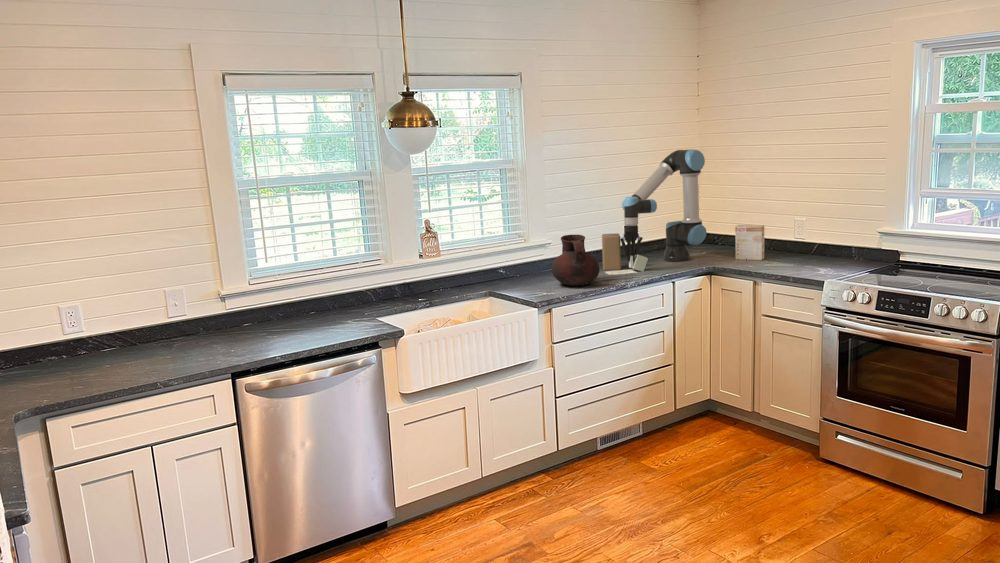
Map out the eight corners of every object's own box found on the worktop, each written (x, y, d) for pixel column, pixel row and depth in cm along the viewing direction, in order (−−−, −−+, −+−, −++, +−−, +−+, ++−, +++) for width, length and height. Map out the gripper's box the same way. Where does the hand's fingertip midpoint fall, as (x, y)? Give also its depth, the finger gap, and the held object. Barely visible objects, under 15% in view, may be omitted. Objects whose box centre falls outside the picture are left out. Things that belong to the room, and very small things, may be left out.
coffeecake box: (764, 258, 429) (764, 224, 425) (761, 260, 423) (762, 226, 419) (738, 257, 436) (738, 224, 433) (735, 259, 430) (735, 226, 427)
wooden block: (620, 267, 429) (619, 233, 425) (621, 270, 419) (620, 235, 415) (602, 268, 430) (601, 233, 426) (603, 271, 420) (602, 236, 416)
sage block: (639, 270, 416) (644, 256, 415) (643, 271, 410) (648, 258, 409) (630, 267, 415) (635, 253, 414) (633, 268, 409) (638, 255, 408)
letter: (631, 269, 418) (631, 269, 418) (637, 273, 407) (637, 272, 407) (604, 272, 416) (603, 271, 416) (609, 275, 405) (609, 275, 405)
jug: (552, 290, 375) (550, 241, 371) (551, 281, 400) (549, 235, 395) (602, 287, 374) (600, 238, 369) (598, 278, 399) (596, 232, 394)
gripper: (640, 224, 412) (639, 265, 416) (617, 224, 411) (617, 266, 415) (644, 225, 405) (644, 267, 409) (622, 226, 403) (621, 268, 407)
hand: (630, 267), depth 412 cm, fingers closed
